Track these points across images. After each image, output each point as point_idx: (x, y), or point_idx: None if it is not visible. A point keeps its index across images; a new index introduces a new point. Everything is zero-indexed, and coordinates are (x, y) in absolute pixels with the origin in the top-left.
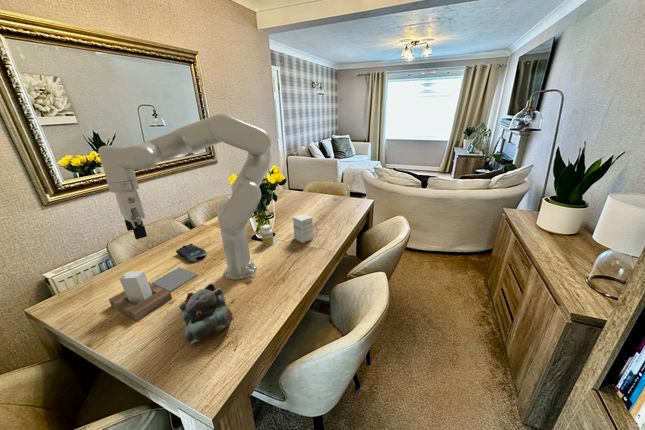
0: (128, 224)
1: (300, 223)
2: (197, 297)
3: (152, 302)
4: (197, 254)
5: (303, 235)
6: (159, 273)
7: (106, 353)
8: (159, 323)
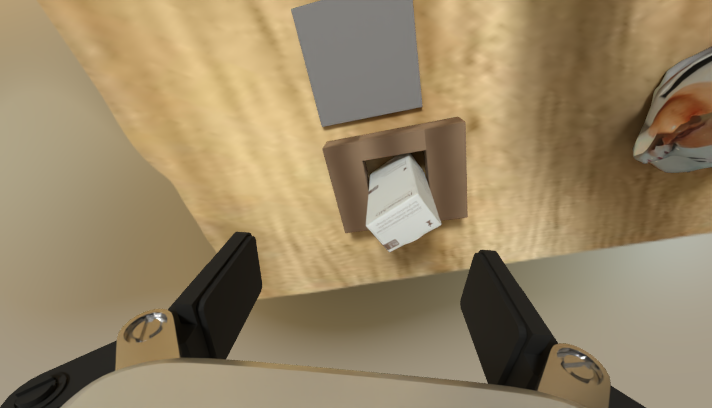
0: (238, 320)
1: None
2: None
3: (463, 175)
4: None
5: None
6: (275, 83)
7: None
8: (520, 179)
